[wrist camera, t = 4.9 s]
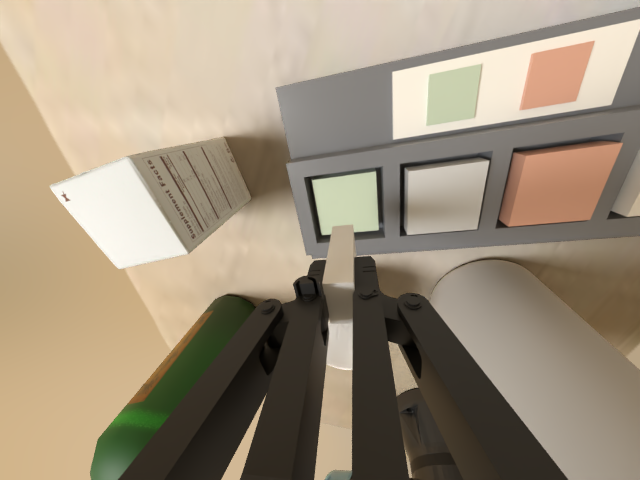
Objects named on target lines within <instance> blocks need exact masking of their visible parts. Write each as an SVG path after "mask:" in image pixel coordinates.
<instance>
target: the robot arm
mask: <svg viewBox="0 0 640 480" xmlns="http://www.w3.org/2000/svg"><path fill="white" fill-rule="evenodd" d="M293 286H294V290H295V293H296V299H295V300H294V301H291V302H288V303H284V304H281V303H280V301H279V300H276V299H268V300H265V301H263V302H262V303H260V304H259V305H258V306H257V307H256V308H255V310H254V311H253V312H252V313H251V315H250V316H249V317H248V318H247V320H246V321H245V322H244V323H243V325H242V326H241V327H240V328H239V330H238V331H237V332H236V333H235V334H234V336H233V337H232V338H231V339H230V341H229V342H228V343H227V344H226V346H225V347H224V348H223V349H222V351H221V352H220V353H219V354H218V356H217V357H216V358H215V359H214V361H213V362H212V363H211V364H210V366H209V367H208V368H207V369H206V371H205V372H204V373H203V374H202V376H201V377H200V378H199V379H198V381H197V382H196V383H195V384H194V386H193V387H192V388H191V389H190V391H189V392H188V393H187V394H186V395H185V397H184V398H183V399H182V400H181V402H180V403H179V404H178V405H177V407H176V408H175V409H174V410H173V412H172V413H171V414H170V415H169V417H168V418H167V419H166V420H165V422H164V423H163V424H162V425H161V427H160V428H159V429H158V430H157V432H156V433H155V434H154V435H153V437H152V438H151V439H150V440H149V442H148V443H147V444H146V445H145V447H144V448H143V449H142V450H141V452H140V453H139V454H138V455H137V456H136V458H135V459H134V460H133V461H132V463H131V464H130V465H129V466H128V468H127V469H126V470H125V471H124V473H123V474H122V475H121V476H120V478H119V479H118V480H221V479H222V477H223V475H224V473H225V471H226V469H227V467H228V465H229V463H230V462H231V460H232V458H233V456H234V454H235V452H236V450H237V448H238V446H239V445H240V443H241V441H242V439H243V437H244V435H245V433H246V431H247V429H248V428H249V426H250V424H251V422H252V420H253V418H254V416H255V414H256V412H257V410H258V409H259V407H260V405H261V403H262V401H263V399H264V397H265V395H266V393H267V395H266V398H265V401H264V404H263V408H262V411H261V414H260V417H259V421H258V424H257V427H256V430H255V434H254V437H253V440H252V443H251V447H250V450H249V453H248V456H247V460H246V463H245V467H244V469H243V473H242V476H241V478H240V480H314V474H315V465H316V456H317V446H318V436H319V427H320V417H321V408H322V398H323V389H324V379H325V370H326V360H327V350H328V341H329V327H328V321H330V324H352V323H353V363H352V471H344V470H333V471H331V472H330V473H329V474H328V475H327V476H326V478H325V480H568V478H567V477H566V476H565V475H564V473H563V472H562V471H561V469H560V468H559V467H558V466H557V464H556V463H555V462H554V460H553V459H552V458H551V457H550V455H549V454H548V453H547V452H546V450H545V449H544V448H543V446H542V445H541V444H540V443H539V441H538V440H537V439H536V438H535V436H534V435H533V434H532V432H531V431H530V430H529V429H528V427H527V426H526V425H525V424H524V422H523V421H522V420H521V418H520V417H519V416H518V415H517V413H516V412H515V411H514V409H513V408H512V407H511V406H510V404H509V403H508V402H507V401H506V399H505V398H504V397H503V395H502V394H501V393H500V392H499V390H498V389H497V388H496V387H495V385H494V384H493V383H492V381H491V380H490V379H489V378H488V376H487V375H486V374H485V373H484V371H483V370H482V369H481V367H480V366H479V365H478V364H477V362H476V361H475V360H474V358H473V357H472V356H471V355H470V353H469V352H468V351H467V350H466V348H465V347H464V346H463V344H462V343H461V342H460V341H459V339H458V338H457V337H456V336H455V334H454V333H453V332H452V330H451V329H450V328H449V327H448V325H447V324H446V323H445V322H444V320H443V319H442V318H441V316H440V315H439V314H438V313H437V311H436V310H435V309H434V308H433V306H432V305H431V304H430V302H429V301H428V300H427V299H426V298H425V297H423V296H421V295H419V294H415V293H406V294H403V295H401V296H400V297H399V298H398V299H396V298H391V297H388V296H386V295H384V294H383V293H382V292H381V291H380V289H379V285H378V279H377V272H376V266H375V260H374V259H373V258H372V257H371V256H366V257H356V247H355V238H354V228H353V224H352V225H342V226H333V227H332V232H331V238H330V243H329V249H328V254H327V260H316V261H314V262H313V263H312V264H311V265H310V268H309V272H308V275H307V276H303V277H300V278H298V279H297V280H296V281H295V282H294V283H293ZM388 341H390V342H393V343H397V344H398V346H399V348H400V350H401V352H402V354H403V356H404V358H405V360H406V362H407V364H408V367H409V369H410V371H411V373H412V375H413V377H414V379H415V381H416V383H417V385H418V387H419V388H418V389H413V390H410V391H407V392H405V393H402V394H401V395H399V396H398V397H396V390H395V384H394V377H393V371H392V364H391V358H390V351H389V345H388ZM404 447H405V449H404ZM405 450H406V452H407V455H408V457H409V461H410V465H411V472H412V478H409V474H408V469H407V462H406V455H405Z"/></svg>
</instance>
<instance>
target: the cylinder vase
mask: <svg viewBox="0 0 640 480" xmlns="http://www.w3.org/2000/svg"><path fill="white" fill-rule="evenodd" d="M430 304H431V305H432V306H433V308H434V309H435V310H436V311H437V313H438V314H439V315H440V316H441V318H442V319H443V320H444V322H445V323H446V324H447V325H448V327H449V328H450V329H451V330H452V332H453V333H454V334H455V336H456V337H457V338H458V339H459V341H460V342H461V343H462V344H463V346H464V347H465V348H466V350H467V351H468V352H469V353H470V355H471V356H472V357H473V358H474V360H475V361H476V362H477V364H478V365H479V366H480V367H481V369H482V370H483V371H484V373H485V374H486V375H487V376H488V378H489V379H490V380H491V381H492V383H493V384H494V385H495V387H496V388H497V389H498V390H499V392H500V393H501V394H502V395H503V397H504V398H505V399H506V401H507V402H508V403H509V404H510V406H511V407H512V408H513V409H514V411H515V412H516V413H517V415H518V416H519V417H520V418H521V420H522V421H523V422H524V424H525V425H526V426H527V427H528V429H529V430H530V431H531V432H532V434H533V435H534V436H535V438H536V439H537V440H538V441H539V443H540V444H541V445H542V446H543V448H544V449H545V450H546V452H547V453H548V454H549V455H550V457H551V458H552V459H553V460H554V462H555V463H556V464H557V466H558V467H559V468H560V469H561V471H562V472H563V473H564V475H565V476H566V477H567V478H568V480H640V370H639V369H638V368H637V367H636V366H635V365H634V364H633V363H632V362H630V361H629V360H628V359H627V358H626V357H625V356H624V355H623V354H622V353H620V352H619V351H618V350H617V349H616V348H615V347H614V346H613V345H611V344H610V343H609V342H608V341H607V340H606V339H605V338H604V337H603V336H601V335H600V334H599V333H598V332H597V331H596V330H595V329H594V328H592V327H591V326H590V325H589V324H588V323H587V322H586V321H585V320H584V319H582V318H581V317H580V316H579V315H578V314H577V313H576V312H575V311H573V310H572V309H571V308H570V307H569V306H568V305H567V304H566V303H565V302H563V301H562V300H561V299H560V298H559V297H558V296H557V295H556V294H555V293H553V292H552V291H551V290H550V289H549V288H548V287H547V286H546V285H544V284H543V283H542V282H541V281H540V280H539V279H538V278H537V277H536V276H534V275H533V274H532V273H531V272H530V271H529V270H527V269H526V268H524V267H522V266H520V265H518V264H516V263H513V262H509V261H504V260H481V261H476V262H472V263H468V264H465V265H463V266H460V267H458V268H456V269H454V270H452V271H451V272H449V273H448V274H447V275H445V276H444V277H443V278H442V279H441V280H440V281H439V282H438V283H437V285H436V286H435V288H434V289H433V291H432V294H431V298H430Z"/></svg>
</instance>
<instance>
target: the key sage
mask: <svg viewBox="0 0 640 480" xmlns="http://www.w3.org/2000/svg"><path fill="white" fill-rule="evenodd" d="M312 184H313V189H314V195H315V200H316V206H317V211H318V217H319V222H320V228H321V233H322V235H330V234H331V232H332V227H333V226H342V225H352V224H353V228H354V232H364V231H375V230H379V225H378V204H377V183H376V170H375V168H369V169H362V170H355V171H348V172H341V173H333V174H326V175H319V176H314V177H313V179H312Z"/></svg>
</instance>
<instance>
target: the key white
mask: <svg viewBox="0 0 640 480" xmlns="http://www.w3.org/2000/svg"><path fill="white" fill-rule="evenodd" d="M611 211H613V212H615V213H618V214H621V215H623V216H626V217H631V216H640V149H639V151H638V153H637V155H636V157H635V159H634V162H633V164H632V166H631V168H630V170H629V172H628V174H627V177H626V179H625V181H624V183H623V185H622V187H621V189H620V191H619V194H618V196H617V198H616V200H615V202H614V204H613V206H612V209H611Z"/></svg>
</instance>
